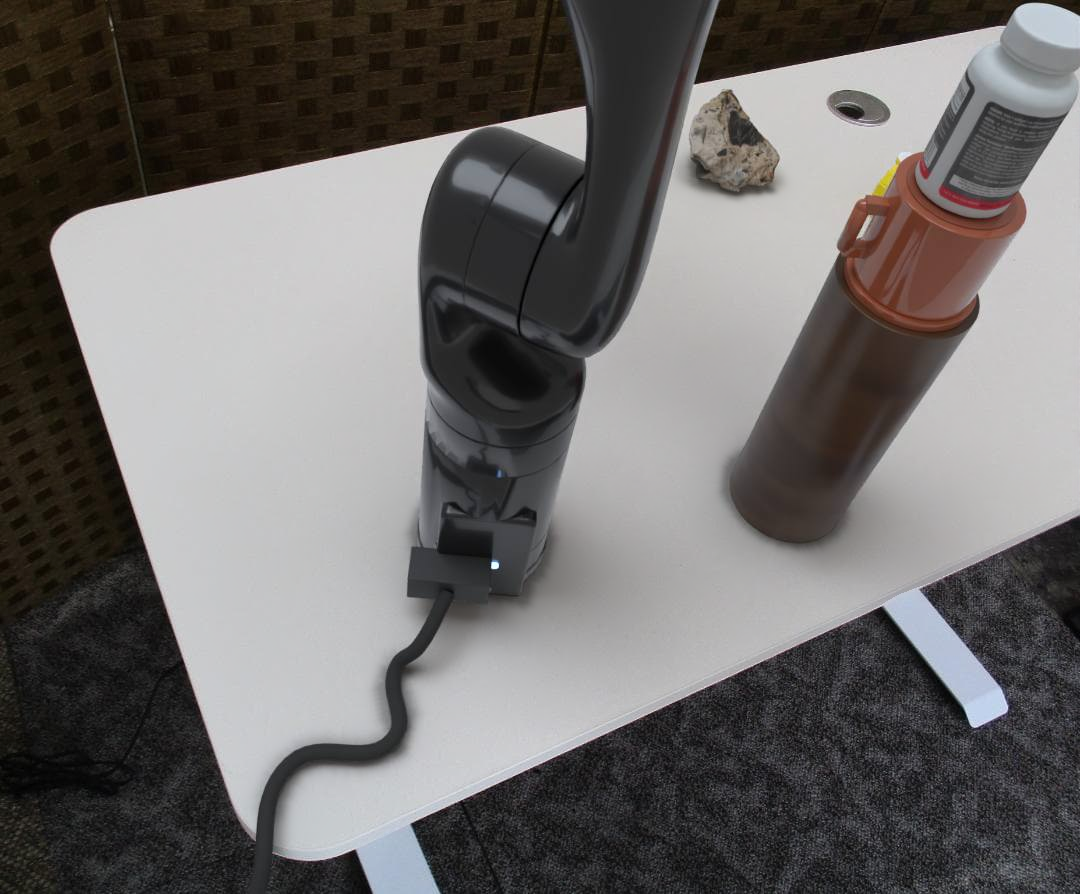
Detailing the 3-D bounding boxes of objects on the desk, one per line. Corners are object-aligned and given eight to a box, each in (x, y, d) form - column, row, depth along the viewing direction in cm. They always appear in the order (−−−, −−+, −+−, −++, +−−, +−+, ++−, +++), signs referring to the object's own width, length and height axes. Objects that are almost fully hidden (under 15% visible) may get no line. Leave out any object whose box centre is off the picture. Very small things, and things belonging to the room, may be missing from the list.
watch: (877, 225, 100) (901, 177, 96) (857, 209, 102) (880, 161, 97) (914, 207, 103) (940, 159, 98) (895, 191, 104) (919, 144, 100)
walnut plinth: (848, 548, 76) (996, 346, 58) (734, 537, 76) (847, 329, 57) (831, 454, 82) (961, 242, 63) (725, 443, 81) (825, 225, 63)
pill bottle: (1027, 205, 55) (1134, 42, 47) (964, 233, 52) (1065, 67, 45) (955, 148, 57) (1046, -16, 49) (892, 173, 55) (976, 5, 47)
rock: (752, 122, 106) (698, 74, 99) (804, 133, 101) (751, 83, 94) (713, 198, 107) (657, 155, 100) (762, 213, 102) (707, 169, 95)
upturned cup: (986, 339, 58) (1051, 248, 53) (832, 321, 57) (881, 227, 52) (956, 247, 63) (1012, 154, 57) (813, 229, 62) (856, 134, 57)
